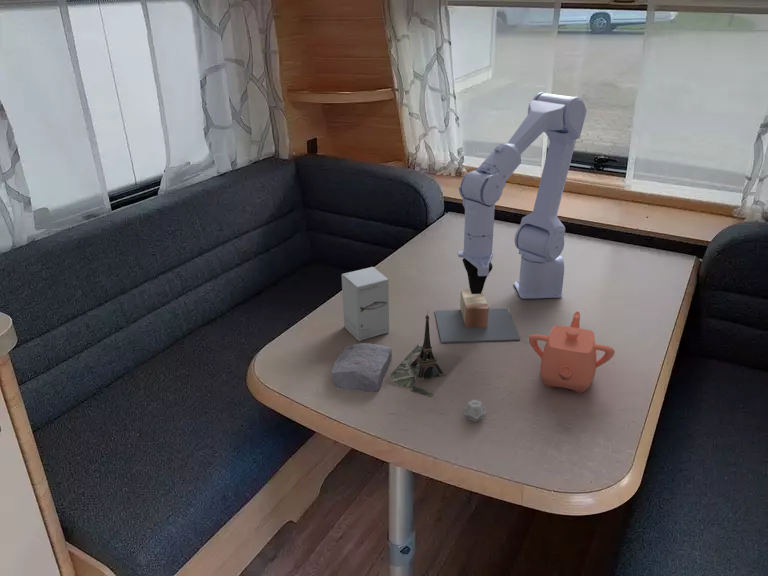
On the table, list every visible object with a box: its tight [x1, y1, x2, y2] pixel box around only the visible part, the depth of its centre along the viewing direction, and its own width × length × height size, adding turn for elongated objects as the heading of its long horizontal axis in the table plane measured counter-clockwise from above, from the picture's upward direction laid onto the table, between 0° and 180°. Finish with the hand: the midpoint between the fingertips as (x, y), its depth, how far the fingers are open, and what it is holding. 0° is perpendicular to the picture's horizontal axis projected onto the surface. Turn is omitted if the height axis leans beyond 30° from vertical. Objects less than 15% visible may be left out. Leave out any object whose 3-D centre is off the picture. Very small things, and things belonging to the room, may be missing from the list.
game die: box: [463, 398, 487, 423], centre depth 105 cm, size 4×4×3 cm
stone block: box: [331, 342, 393, 393], centre depth 117 cm, size 12×5×10 cm
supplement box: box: [340, 266, 390, 342], centre depth 129 cm, size 7×7×13 cm
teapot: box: [528, 311, 616, 394], centre depth 112 cm, size 14×12×10 cm
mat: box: [434, 307, 521, 344], centre depth 132 cm, size 16×13×1 cm
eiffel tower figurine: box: [390, 310, 446, 397], centre depth 116 cm, size 15×10×13 cm
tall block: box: [459, 288, 490, 328], centre depth 134 cm, size 4×4×9 cm
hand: (475, 292), depth 131 cm, fingers closed
